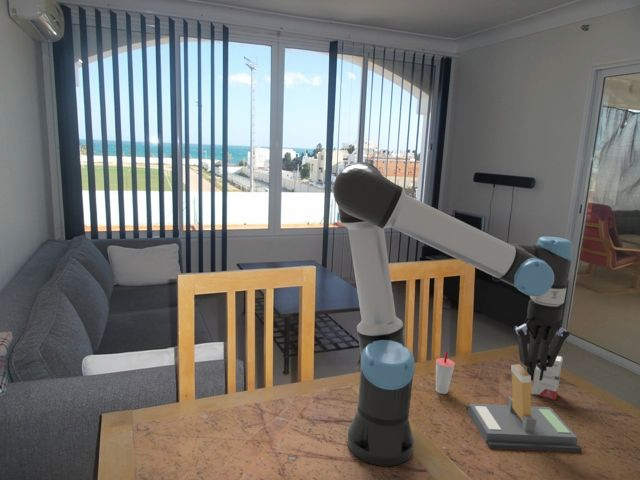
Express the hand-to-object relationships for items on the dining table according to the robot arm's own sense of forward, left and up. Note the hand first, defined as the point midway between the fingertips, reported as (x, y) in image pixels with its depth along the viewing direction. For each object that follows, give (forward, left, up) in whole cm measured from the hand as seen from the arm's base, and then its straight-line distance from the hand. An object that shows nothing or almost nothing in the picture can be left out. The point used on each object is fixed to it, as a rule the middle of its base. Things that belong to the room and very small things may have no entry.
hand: (531, 391), depth 115 cm
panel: (-2, 0, -10) cm, 11 cm away
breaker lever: (-2, 0, -6) cm, 7 cm away
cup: (-17, +17, -11) cm, 26 cm away
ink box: (+13, +19, -11) cm, 25 cm away
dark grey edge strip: (-2, -8, -10) cm, 13 cm away
